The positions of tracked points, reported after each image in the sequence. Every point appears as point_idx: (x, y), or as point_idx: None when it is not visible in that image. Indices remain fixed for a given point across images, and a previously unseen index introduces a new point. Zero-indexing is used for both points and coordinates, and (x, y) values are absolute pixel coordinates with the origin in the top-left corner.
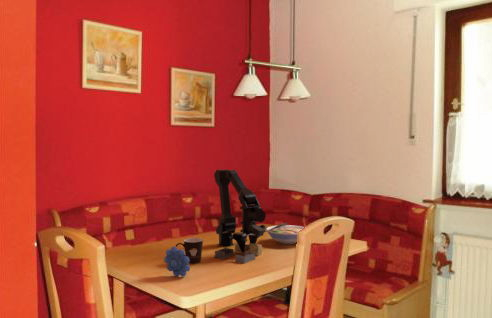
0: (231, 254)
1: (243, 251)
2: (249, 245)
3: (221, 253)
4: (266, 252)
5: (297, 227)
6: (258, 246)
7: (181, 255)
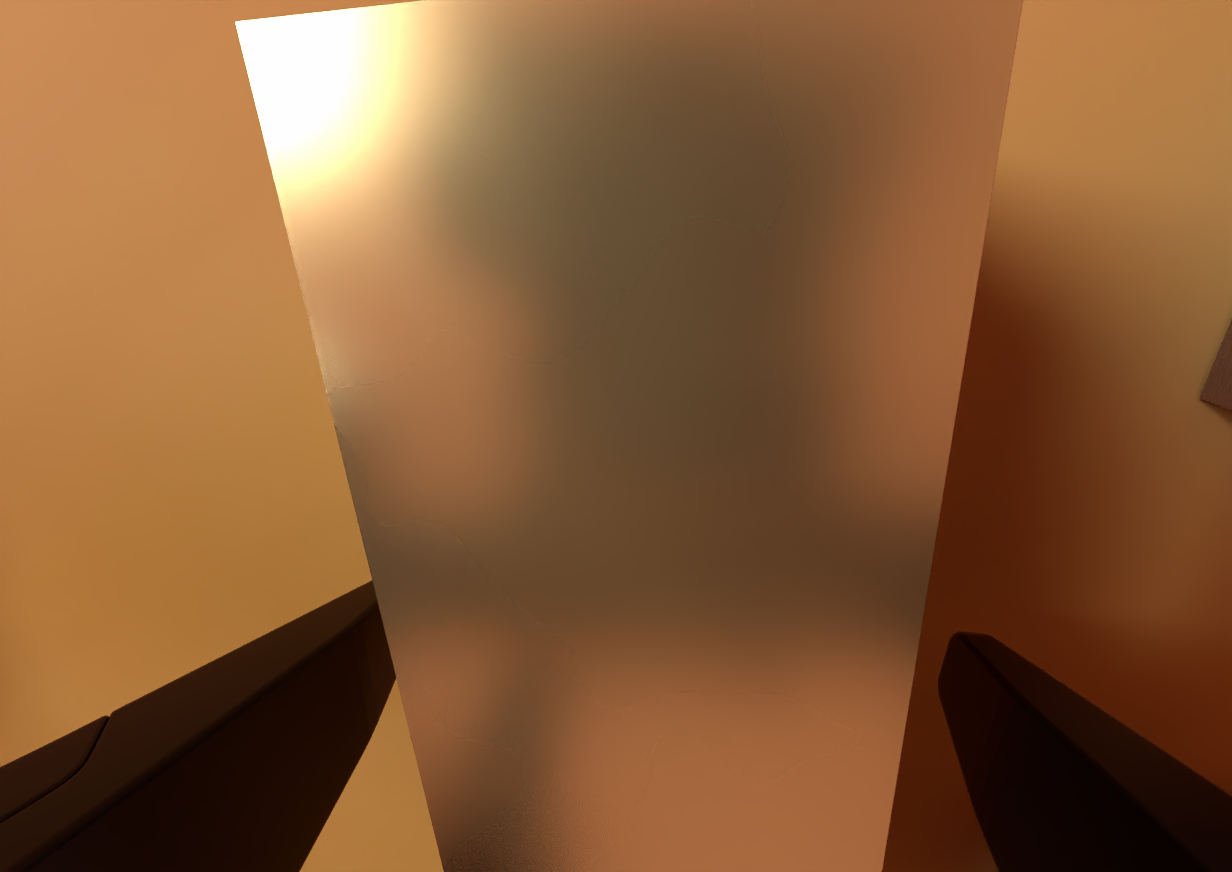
0: None
1: (1036, 686)
2: (884, 748)
3: None
4: (176, 142)
5: None
6: None
7: None
